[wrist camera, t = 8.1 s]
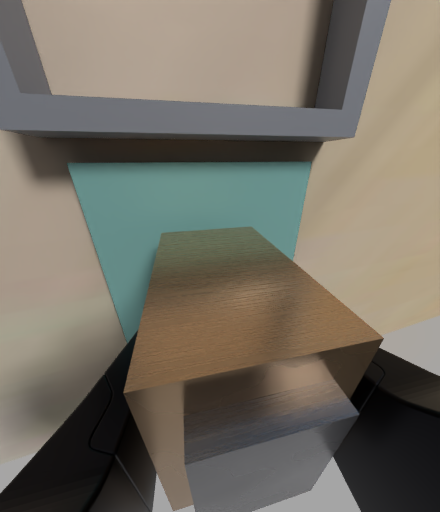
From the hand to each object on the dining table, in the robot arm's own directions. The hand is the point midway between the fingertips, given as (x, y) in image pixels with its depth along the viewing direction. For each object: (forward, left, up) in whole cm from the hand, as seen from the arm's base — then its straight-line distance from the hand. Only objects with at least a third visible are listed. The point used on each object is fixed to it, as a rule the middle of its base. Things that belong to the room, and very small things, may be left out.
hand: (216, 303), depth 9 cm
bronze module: (0, 0, -2) cm, 2 cm away
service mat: (0, 0, -4) cm, 4 cm away
